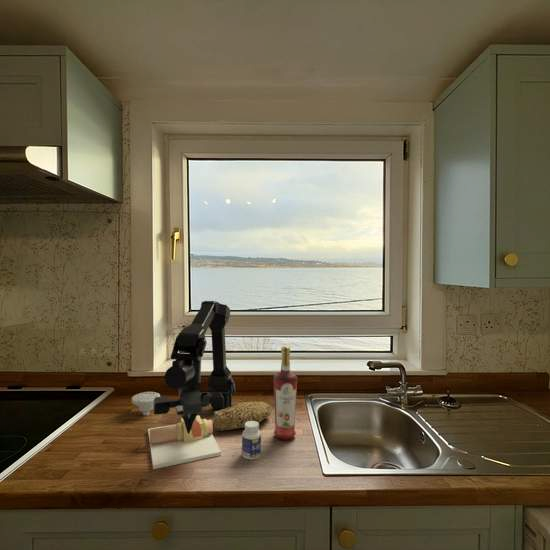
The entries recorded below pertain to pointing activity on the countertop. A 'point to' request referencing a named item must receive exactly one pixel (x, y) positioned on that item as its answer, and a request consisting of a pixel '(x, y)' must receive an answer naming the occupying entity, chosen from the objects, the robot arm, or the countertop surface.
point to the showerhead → (145, 401)
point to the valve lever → (196, 429)
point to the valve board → (181, 444)
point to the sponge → (240, 415)
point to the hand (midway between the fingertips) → (188, 433)
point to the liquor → (285, 398)
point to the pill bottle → (251, 440)
